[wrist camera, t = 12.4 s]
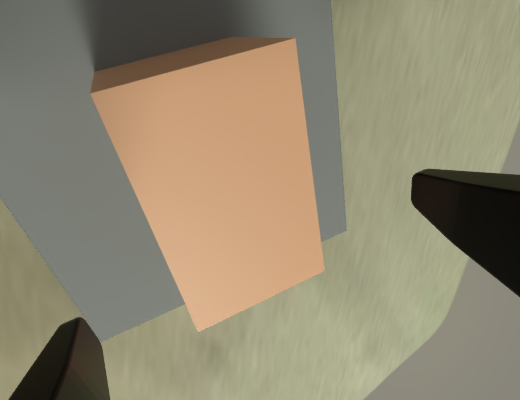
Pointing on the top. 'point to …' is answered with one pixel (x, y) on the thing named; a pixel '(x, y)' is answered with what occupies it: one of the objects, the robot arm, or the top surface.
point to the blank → (219, 167)
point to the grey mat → (102, 149)
